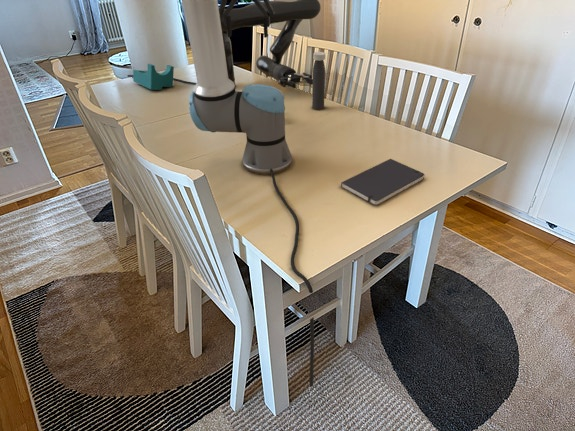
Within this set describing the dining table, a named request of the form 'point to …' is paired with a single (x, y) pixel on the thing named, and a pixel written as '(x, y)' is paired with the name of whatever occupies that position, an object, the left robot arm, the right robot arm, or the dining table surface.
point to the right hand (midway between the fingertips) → (247, 36)
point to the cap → (319, 56)
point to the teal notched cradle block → (154, 77)
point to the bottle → (318, 85)
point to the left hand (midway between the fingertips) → (304, 84)
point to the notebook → (382, 181)
